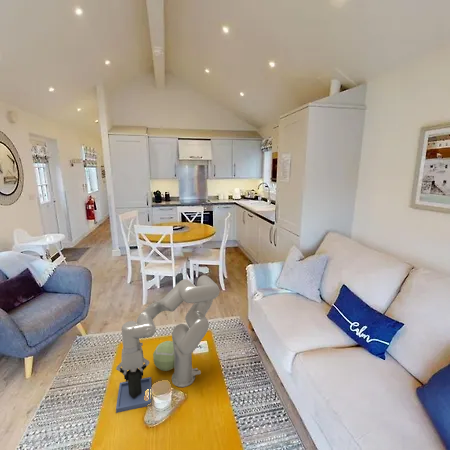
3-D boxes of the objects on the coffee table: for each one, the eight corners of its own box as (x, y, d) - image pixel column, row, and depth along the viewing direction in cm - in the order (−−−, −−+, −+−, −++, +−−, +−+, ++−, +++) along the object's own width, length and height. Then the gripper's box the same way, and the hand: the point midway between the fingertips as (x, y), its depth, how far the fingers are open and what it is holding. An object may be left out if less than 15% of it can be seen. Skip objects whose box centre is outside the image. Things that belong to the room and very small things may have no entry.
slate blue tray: (151, 380, 143) (151, 376, 143) (151, 405, 128) (151, 401, 128) (120, 386, 139) (119, 382, 139) (116, 412, 124) (115, 409, 123)
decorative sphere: (183, 358, 160) (182, 336, 156) (176, 377, 145) (175, 354, 142) (159, 356, 161) (158, 335, 158) (150, 375, 146) (148, 352, 143)
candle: (137, 386, 137) (133, 344, 131) (142, 392, 134) (139, 349, 128) (128, 393, 133) (124, 349, 128) (133, 398, 130) (129, 354, 124)
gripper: (150, 339, 133) (152, 369, 137) (113, 344, 129) (116, 376, 133) (149, 348, 126) (152, 380, 130) (111, 355, 122) (114, 387, 126)
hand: (134, 378), depth 131 cm, fingers closed on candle, 6 cm apart
